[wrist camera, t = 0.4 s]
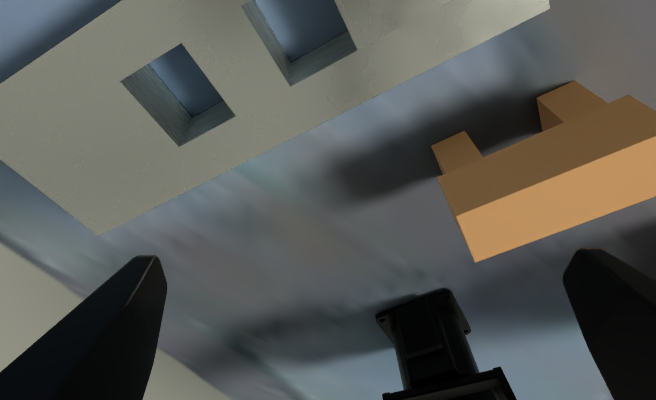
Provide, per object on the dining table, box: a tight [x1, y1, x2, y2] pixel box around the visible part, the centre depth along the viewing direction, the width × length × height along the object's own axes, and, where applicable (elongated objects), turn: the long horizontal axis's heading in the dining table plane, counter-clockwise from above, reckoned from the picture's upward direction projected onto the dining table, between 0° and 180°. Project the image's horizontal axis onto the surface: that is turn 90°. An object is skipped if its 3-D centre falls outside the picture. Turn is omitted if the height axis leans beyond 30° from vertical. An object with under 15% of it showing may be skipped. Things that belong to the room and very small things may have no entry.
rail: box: [0, 0, 550, 236], centre depth 17 cm, size 8×24×3 cm, turn 117°
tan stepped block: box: [431, 80, 656, 263], centre depth 20 cm, size 4×9×6 cm, turn 117°
